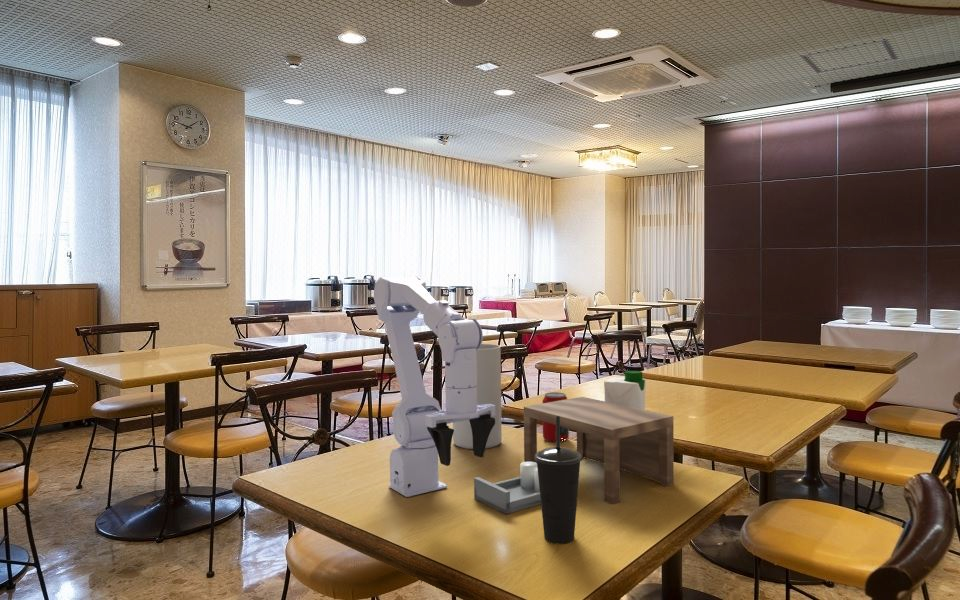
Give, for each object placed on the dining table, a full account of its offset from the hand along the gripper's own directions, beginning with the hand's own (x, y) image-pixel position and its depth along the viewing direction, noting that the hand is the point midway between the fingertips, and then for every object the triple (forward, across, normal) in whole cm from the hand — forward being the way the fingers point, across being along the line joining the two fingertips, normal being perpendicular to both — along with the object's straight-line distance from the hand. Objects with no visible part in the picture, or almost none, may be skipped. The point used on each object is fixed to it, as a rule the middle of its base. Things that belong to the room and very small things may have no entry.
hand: (462, 460), depth 112 cm
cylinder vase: (+10, +30, +34) cm, 47 cm away
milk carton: (+10, +51, +3) cm, 52 cm away
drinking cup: (+10, +5, -19) cm, 22 cm away
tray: (+10, +13, -2) cm, 16 cm away
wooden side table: (+10, +33, -3) cm, 35 cm away
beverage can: (+10, +48, +23) cm, 54 cm away
